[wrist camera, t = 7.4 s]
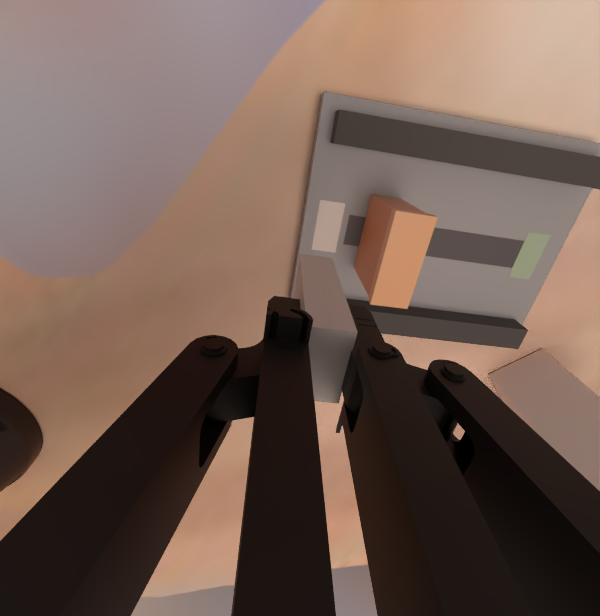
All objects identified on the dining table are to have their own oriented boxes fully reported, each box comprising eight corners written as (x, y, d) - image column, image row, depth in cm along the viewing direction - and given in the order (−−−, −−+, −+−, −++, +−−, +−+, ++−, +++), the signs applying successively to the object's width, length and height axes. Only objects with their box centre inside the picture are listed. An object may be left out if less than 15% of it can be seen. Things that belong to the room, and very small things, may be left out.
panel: (287, 311, 33) (287, 321, 31) (321, 94, 25) (324, 91, 23) (499, 336, 35) (511, 347, 33) (592, 145, 27) (614, 146, 25)
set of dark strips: (300, 313, 31) (301, 324, 29) (335, 111, 24) (339, 109, 22) (505, 337, 33) (518, 348, 31) (594, 158, 26) (617, 160, 24)
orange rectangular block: (352, 268, 29) (370, 304, 23) (370, 192, 26) (396, 210, 20) (382, 272, 29) (407, 309, 23) (402, 197, 26) (437, 217, 20)
